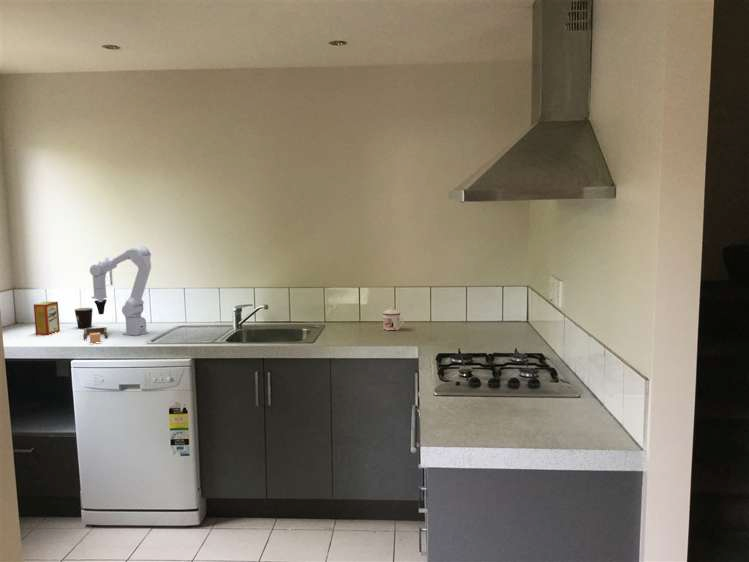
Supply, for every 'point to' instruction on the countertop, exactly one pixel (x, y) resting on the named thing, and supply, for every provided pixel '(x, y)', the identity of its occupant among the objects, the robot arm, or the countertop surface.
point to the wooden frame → (95, 331)
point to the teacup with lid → (392, 319)
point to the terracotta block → (94, 337)
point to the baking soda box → (46, 318)
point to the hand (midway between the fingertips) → (101, 314)
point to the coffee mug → (84, 317)
